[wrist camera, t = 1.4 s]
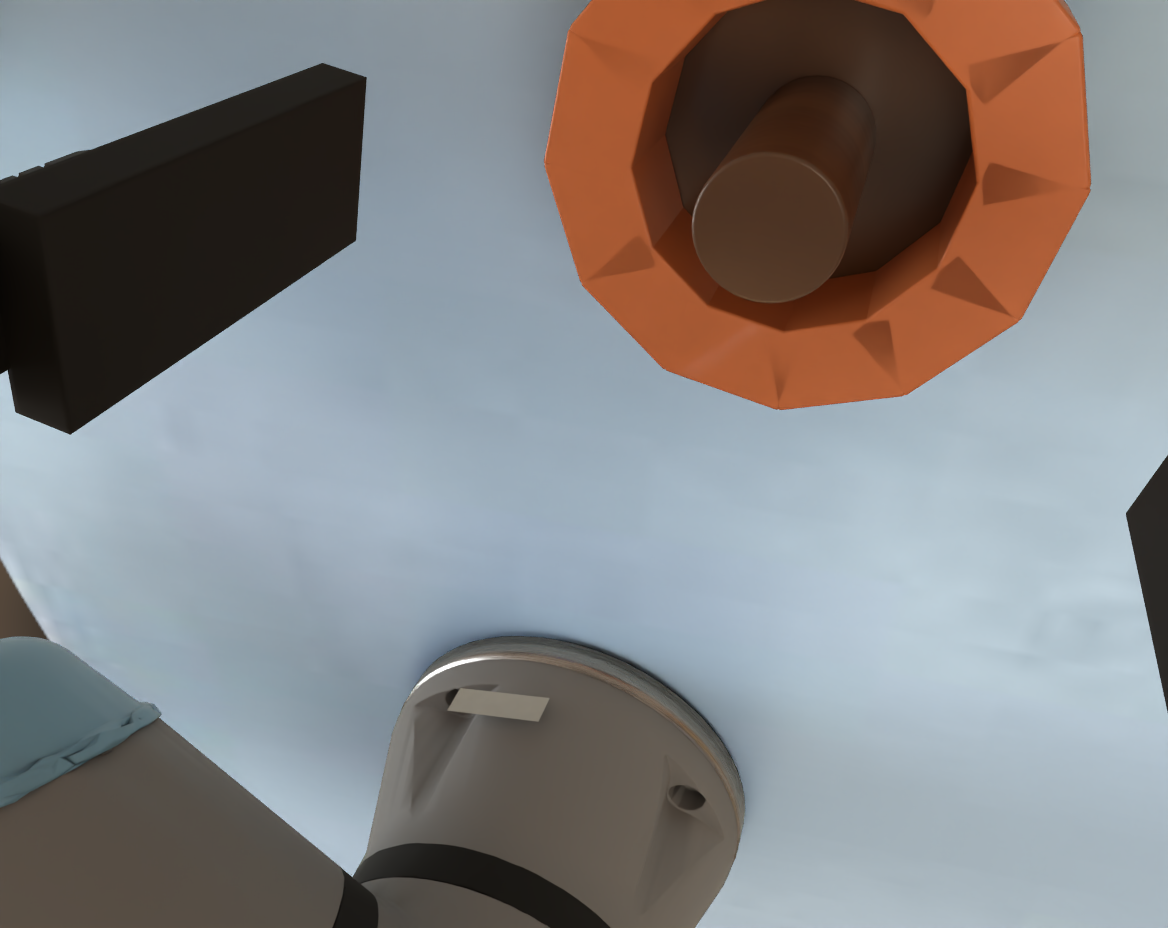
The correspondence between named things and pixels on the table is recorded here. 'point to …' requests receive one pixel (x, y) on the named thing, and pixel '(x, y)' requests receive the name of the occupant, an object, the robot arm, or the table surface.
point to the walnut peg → (813, 143)
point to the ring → (840, 305)
